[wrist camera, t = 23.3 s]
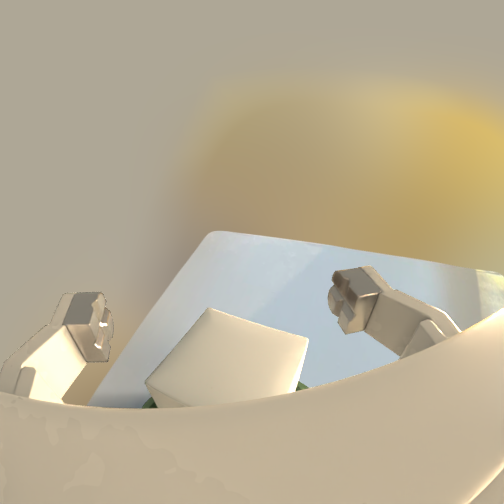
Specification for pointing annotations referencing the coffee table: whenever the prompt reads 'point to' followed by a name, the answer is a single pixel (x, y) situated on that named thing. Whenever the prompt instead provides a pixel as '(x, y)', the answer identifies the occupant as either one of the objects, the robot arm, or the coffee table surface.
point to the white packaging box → (227, 363)
